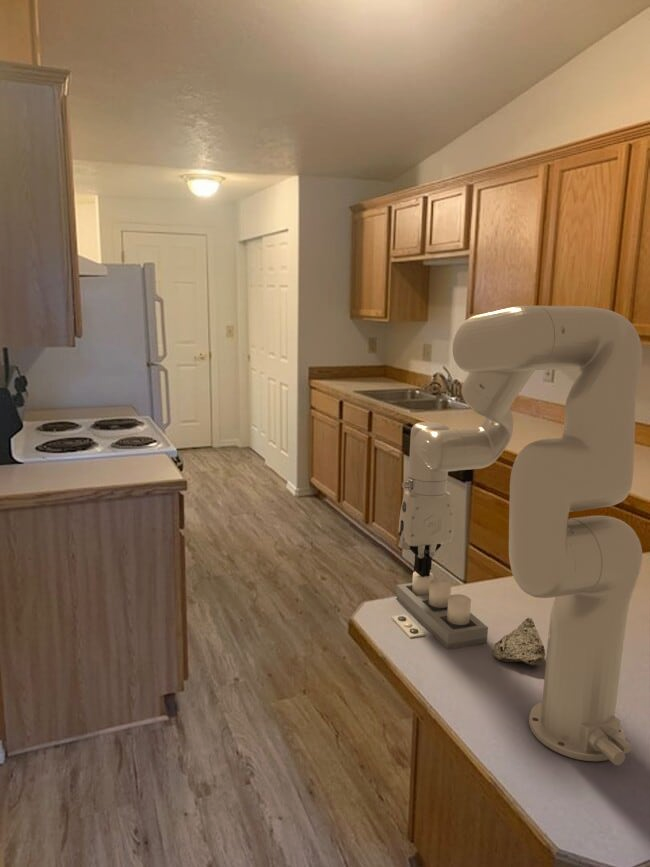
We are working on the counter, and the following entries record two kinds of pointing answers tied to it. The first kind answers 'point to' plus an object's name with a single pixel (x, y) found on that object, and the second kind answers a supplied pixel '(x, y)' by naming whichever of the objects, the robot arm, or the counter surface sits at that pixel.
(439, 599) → the button mid
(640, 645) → the counter surface
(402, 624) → the card
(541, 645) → the rock sample
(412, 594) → the button board
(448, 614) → the button near
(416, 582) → the button far
